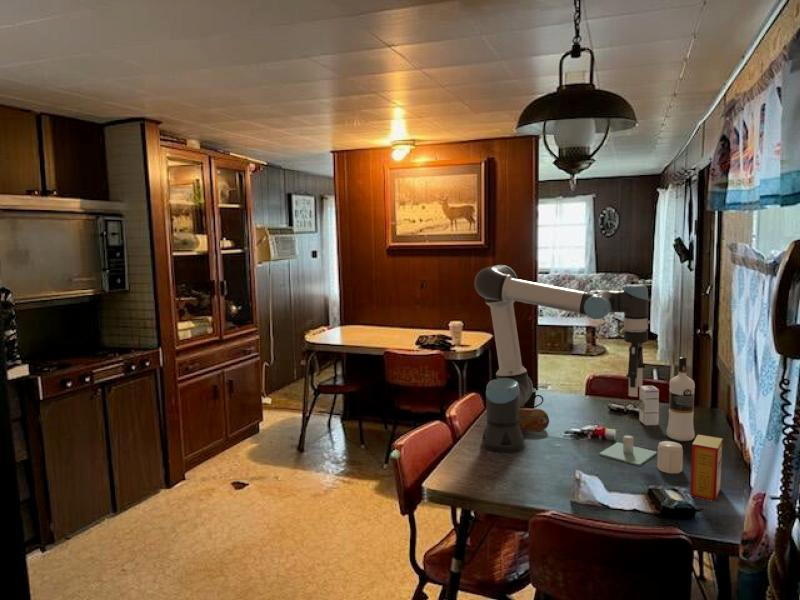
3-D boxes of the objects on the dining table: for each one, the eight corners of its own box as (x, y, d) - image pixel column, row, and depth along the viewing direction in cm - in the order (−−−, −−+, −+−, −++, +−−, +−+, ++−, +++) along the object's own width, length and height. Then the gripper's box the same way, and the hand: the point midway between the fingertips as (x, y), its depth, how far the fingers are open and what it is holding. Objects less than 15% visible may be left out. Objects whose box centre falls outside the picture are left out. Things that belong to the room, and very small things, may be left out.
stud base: (639, 466, 190) (640, 448, 189) (599, 454, 200) (599, 437, 199) (657, 453, 200) (657, 436, 199) (617, 443, 210) (617, 427, 209)
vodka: (688, 432, 218) (691, 354, 215) (698, 442, 209) (701, 360, 205) (662, 432, 219) (665, 354, 216) (671, 441, 210) (674, 360, 206)
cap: (676, 475, 182) (677, 450, 181) (654, 469, 187) (655, 445, 186) (684, 468, 187) (685, 444, 186) (663, 463, 192) (663, 439, 191)
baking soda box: (696, 484, 176) (697, 433, 174) (720, 489, 172) (722, 437, 170) (690, 496, 168) (692, 443, 166) (715, 501, 164) (717, 447, 162)
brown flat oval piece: (509, 429, 227) (509, 409, 226) (509, 427, 230) (509, 406, 229) (549, 432, 223) (549, 410, 222) (548, 429, 226) (549, 408, 225)
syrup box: (659, 425, 227) (660, 389, 226) (643, 425, 228) (644, 389, 226) (653, 420, 233) (654, 385, 231) (638, 420, 233) (639, 385, 231)
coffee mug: (511, 411, 249) (511, 388, 248) (527, 408, 253) (527, 386, 251) (528, 419, 239) (528, 395, 237) (545, 415, 242) (545, 392, 241)
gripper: (643, 337, 185) (643, 401, 188) (651, 324, 207) (651, 383, 209) (618, 335, 189) (618, 399, 191) (629, 323, 210) (629, 381, 213)
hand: (635, 391), depth 200 cm, fingers open, 13 cm apart
